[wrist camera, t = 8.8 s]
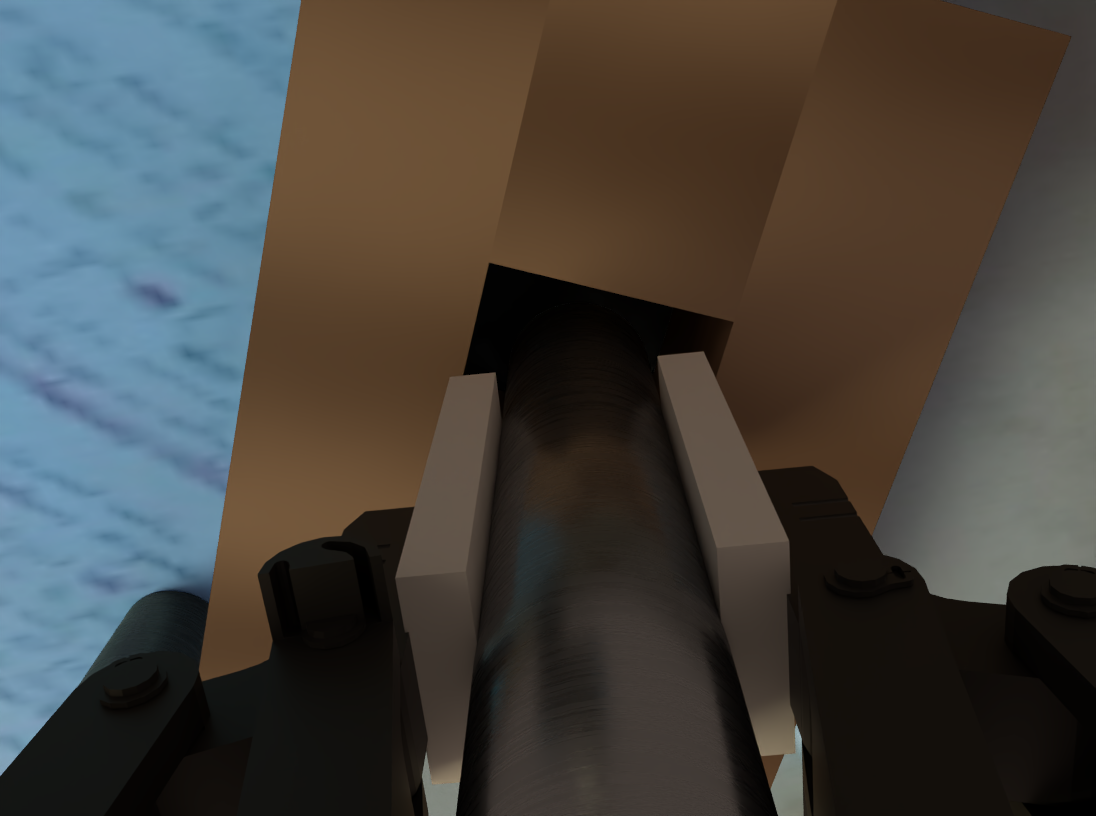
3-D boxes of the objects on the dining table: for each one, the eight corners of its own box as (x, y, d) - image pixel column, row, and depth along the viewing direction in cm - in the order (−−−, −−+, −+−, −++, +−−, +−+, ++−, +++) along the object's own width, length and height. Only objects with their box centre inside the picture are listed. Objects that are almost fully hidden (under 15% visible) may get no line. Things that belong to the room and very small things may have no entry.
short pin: (129, 580, 27) (-26, 800, 20) (237, 603, 27) (124, 828, 20) (117, 669, 28) (-36, 911, 21) (222, 690, 28) (109, 936, 21)
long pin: (527, 287, 20) (463, 1037, 5) (664, 320, 21) (966, 1127, 6) (494, 417, 21) (367, 1356, 6) (626, 447, 22) (799, 1422, 7)
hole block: (385, -121, 21) (326, -168, 16) (939, 30, 22) (1071, 36, 17) (268, 555, 27) (194, 700, 21) (717, 652, 28) (760, 814, 22)
